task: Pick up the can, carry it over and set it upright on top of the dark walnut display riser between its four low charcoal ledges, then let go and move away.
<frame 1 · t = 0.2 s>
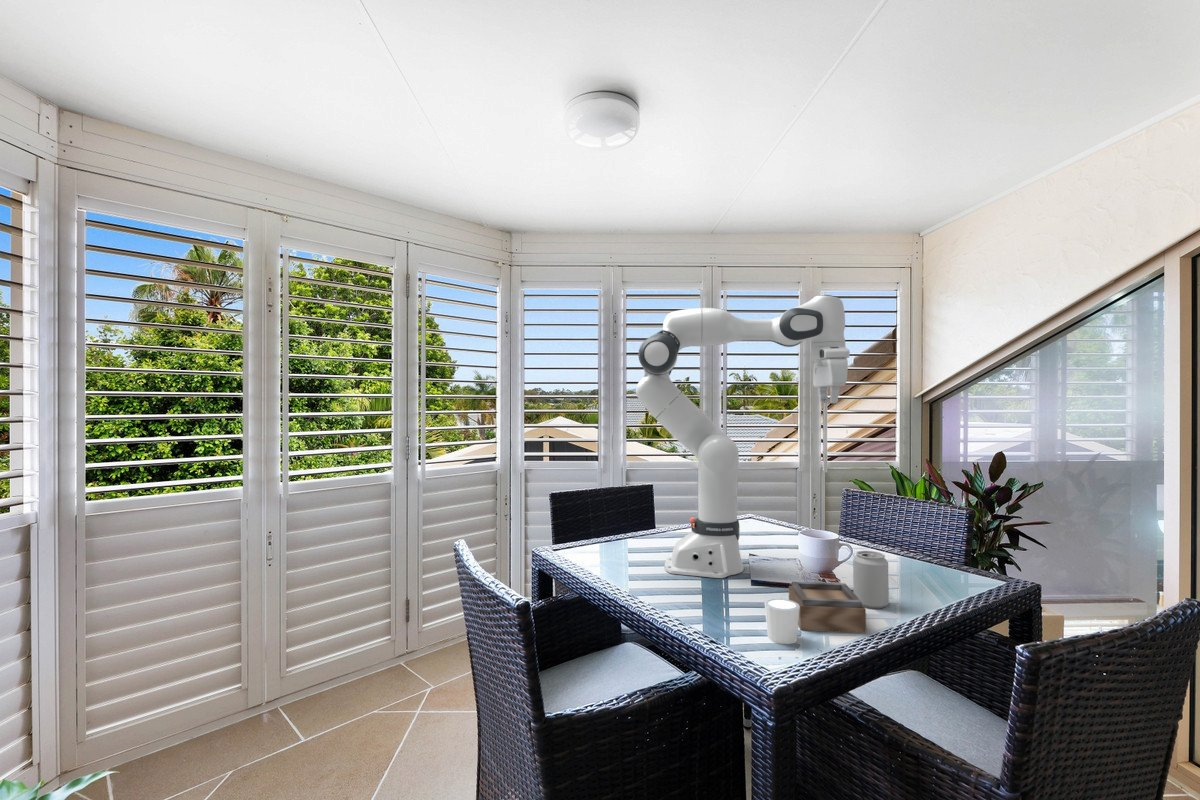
hand: (828, 403, 156), 47 cm above the table, tool pointing down, fingers open, 8 cm apart
white cylinder: (782, 639, 114), on the table
display riser: (825, 619, 123), on the table
can: (870, 604, 132), on the table
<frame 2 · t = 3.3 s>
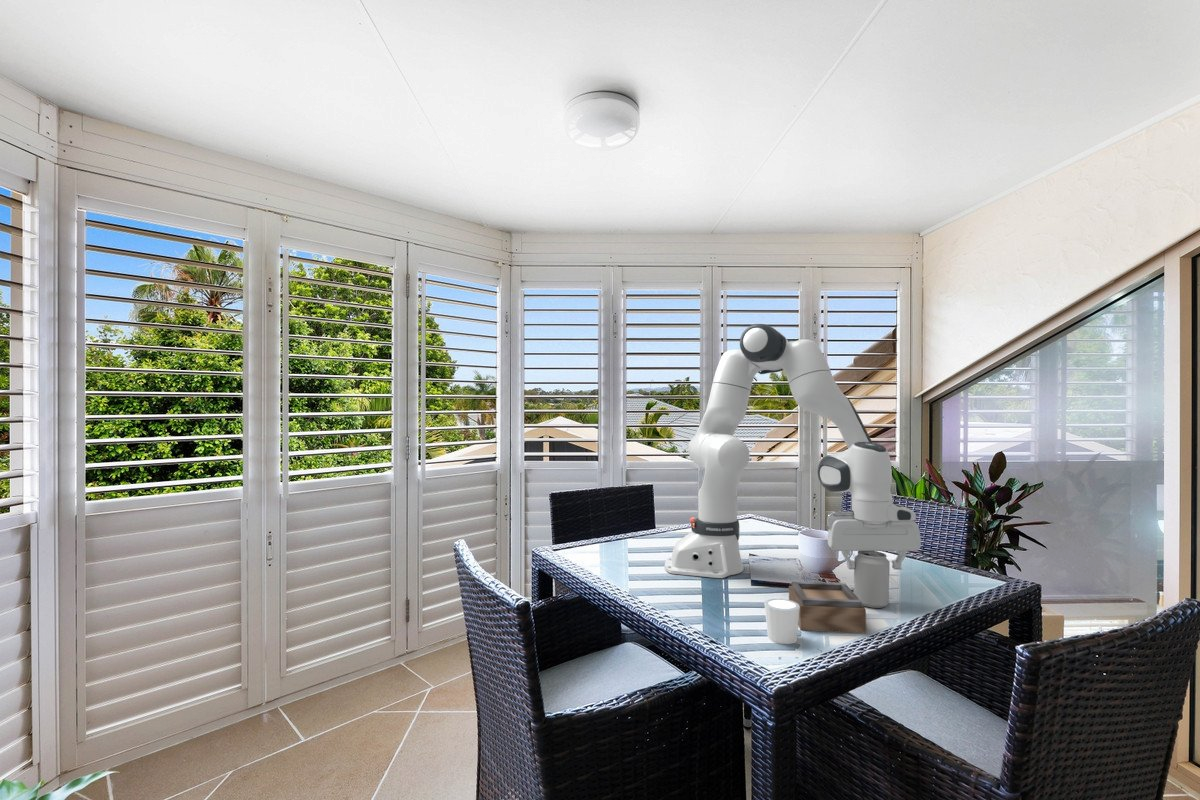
hand: (874, 568, 132), 8 cm above the table, tool pointing down, fingers open, 8 cm apart
can: (870, 604, 132), on the table, touching gripper
everything else where it was.
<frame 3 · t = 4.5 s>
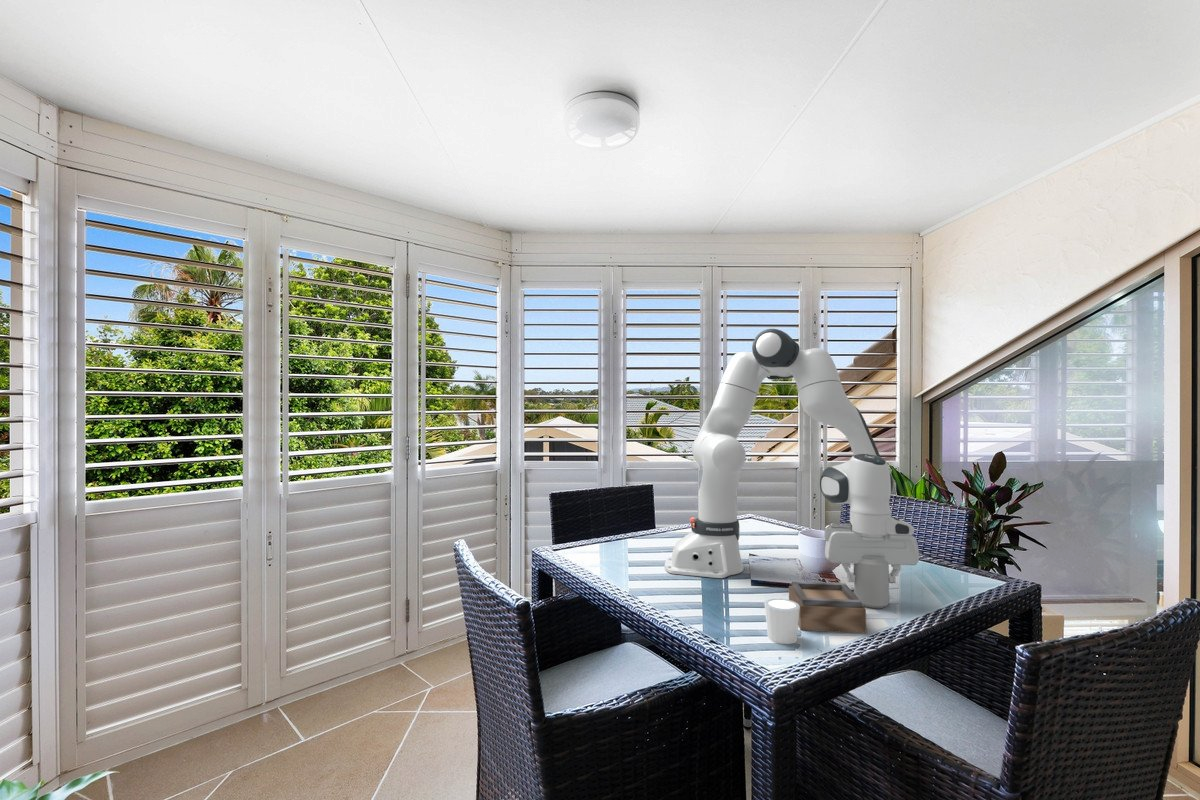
hand: (871, 582, 132), 5 cm above the table, tool pointing down, fingers closed on can, 7 cm apart
can: (871, 604, 132), on the table, touching gripper
everything else where it was.
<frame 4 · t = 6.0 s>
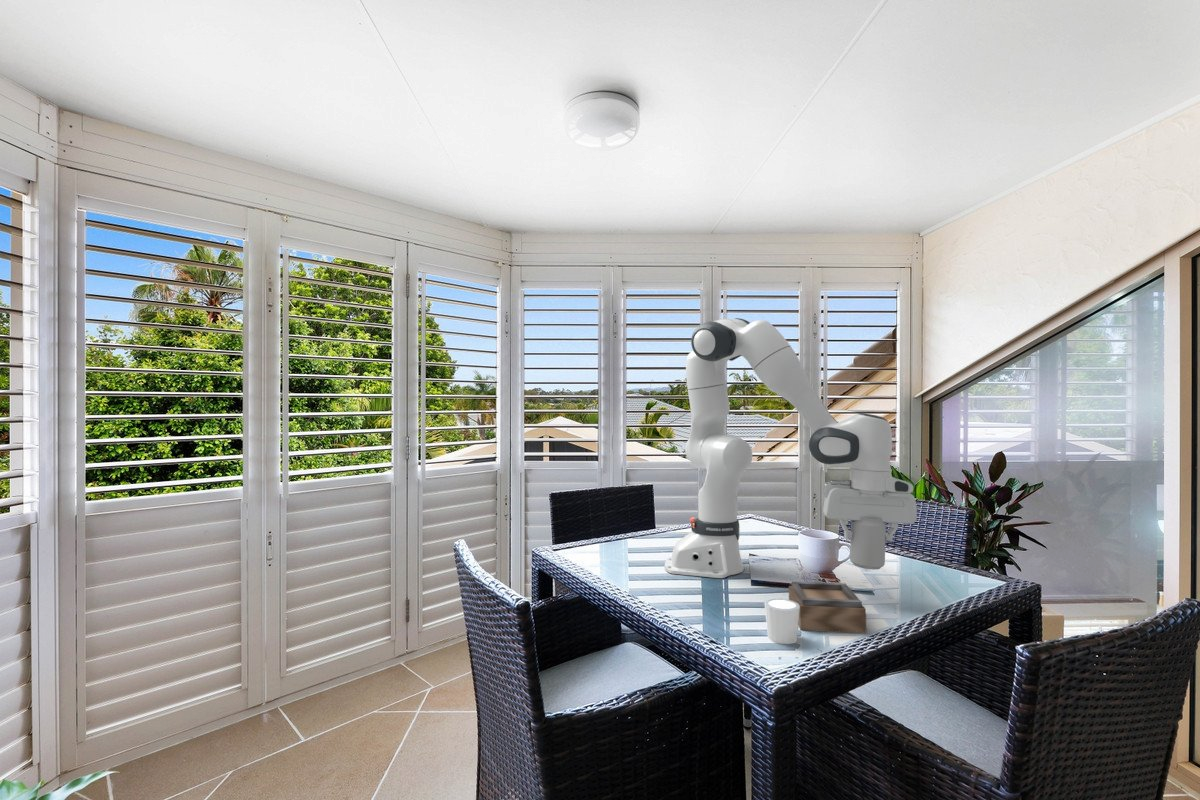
hand: (867, 539, 132), 15 cm above the table, tool pointing down, fingers closed on can, 7 cm apart
can: (866, 566, 132), point 9 cm above the table, touching gripper
everything else where it was.
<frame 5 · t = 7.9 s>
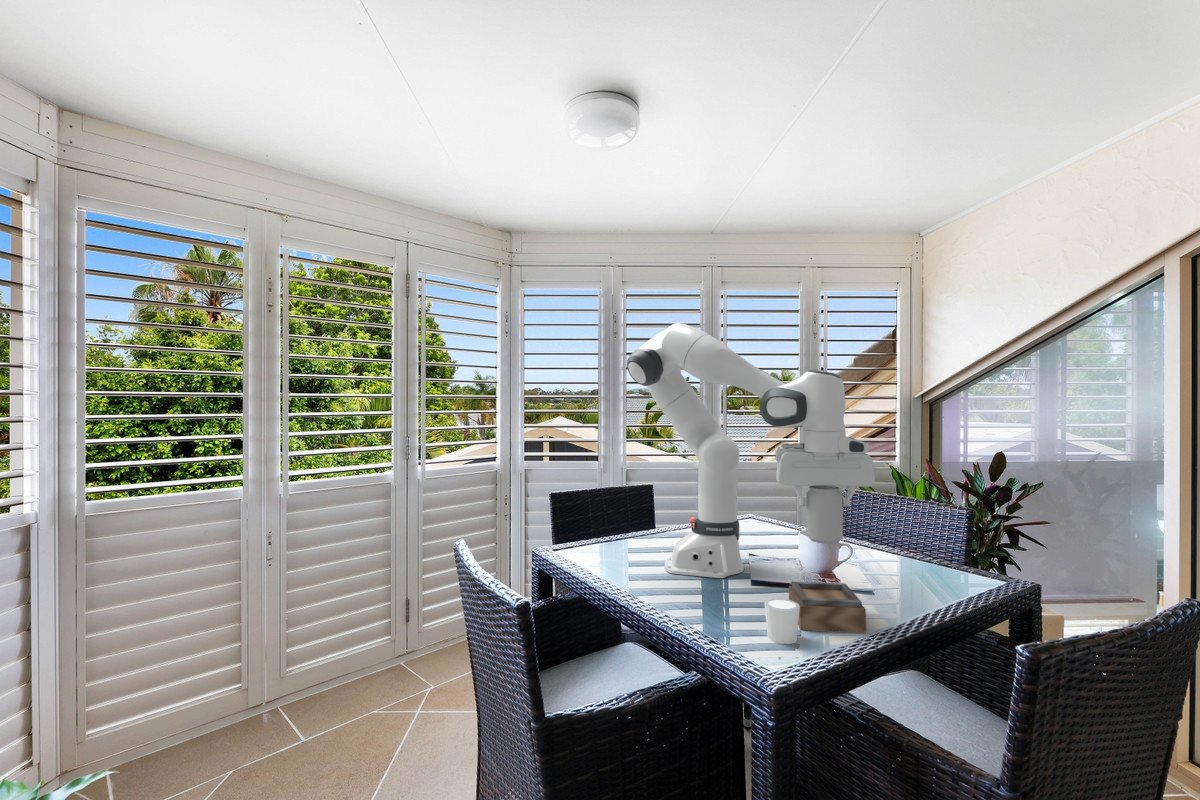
hand: (824, 506, 123), 25 cm above the table, tool pointing down, fingers closed on can, 7 cm apart
can: (824, 541, 123), point 17 cm above the table, touching gripper
everything else where it was.
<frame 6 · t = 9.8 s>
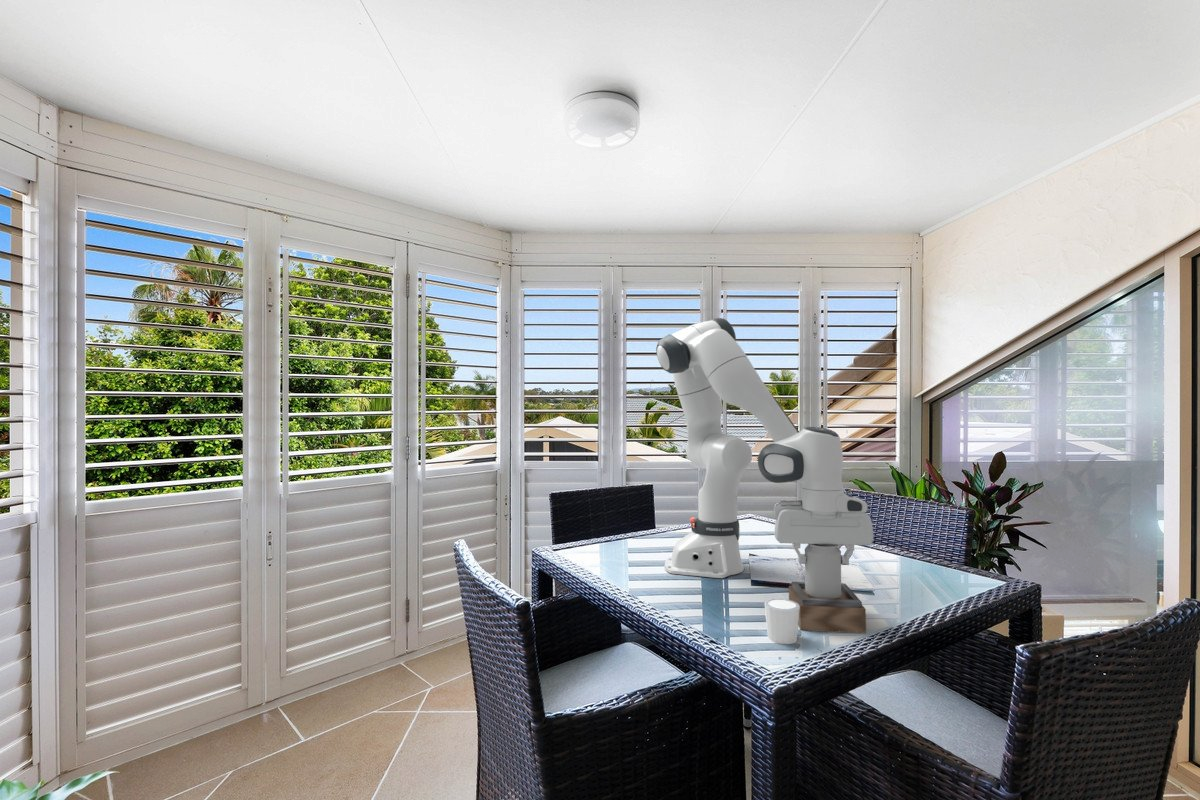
hand: (823, 563, 123), 12 cm above the table, tool pointing down, fingers closed on can, 7 cm apart
can: (823, 597, 123), point 5 cm above the table, touching display riser, gripper
everything else where it was.
when the fingers open (12 cm above the table, at t = 11.0 s): can stays where it is, resting on display riser.
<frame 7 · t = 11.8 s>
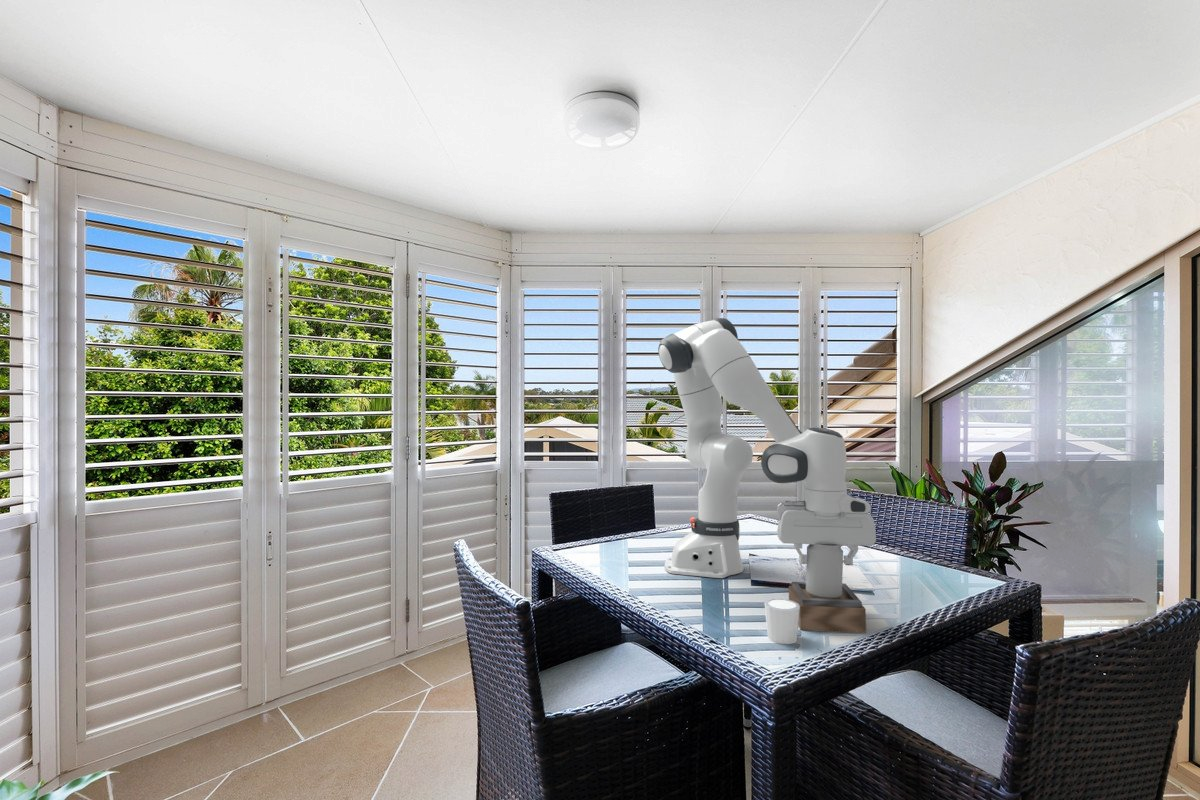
hand: (825, 564, 123), 12 cm above the table, tool pointing down, fingers open, 8 cm apart
can: (823, 596, 123), point 5 cm above the table, touching display riser
everything else where it was.
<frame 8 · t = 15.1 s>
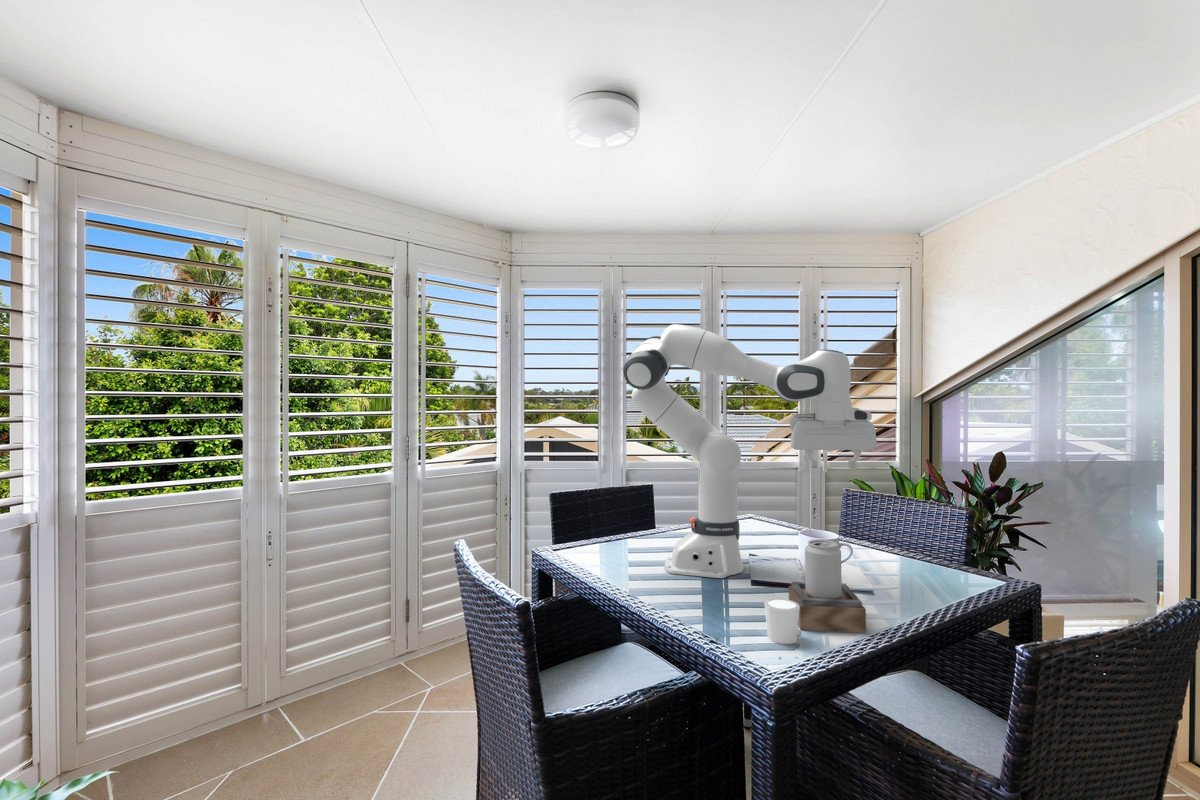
hand: (832, 467, 142), 31 cm above the table, tool pointing down, fingers open, 8 cm apart
nothing on the table moved.
at the end: can 0.3 cm off-centre on the display riser, point 4.8 cm above the display riser's base; can tilted 0°; the gripper is holding nothing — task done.
